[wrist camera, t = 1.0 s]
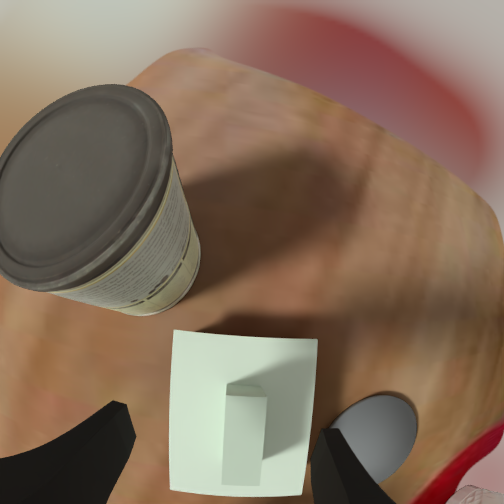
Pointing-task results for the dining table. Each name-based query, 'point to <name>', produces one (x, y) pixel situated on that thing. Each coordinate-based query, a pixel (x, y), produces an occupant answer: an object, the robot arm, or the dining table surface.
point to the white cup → (476, 496)
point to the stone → (379, 433)
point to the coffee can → (98, 204)
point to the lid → (240, 414)
